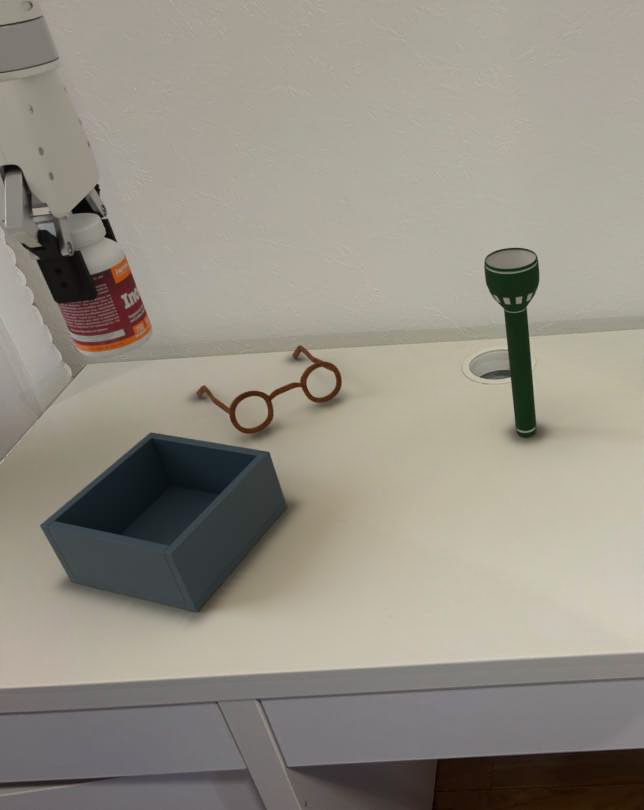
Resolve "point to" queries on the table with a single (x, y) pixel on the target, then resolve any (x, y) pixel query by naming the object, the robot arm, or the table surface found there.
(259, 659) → the table surface
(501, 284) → the flashlight
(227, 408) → the glasses
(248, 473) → the bin
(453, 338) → the table surface
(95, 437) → the table surface
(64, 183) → the robot arm
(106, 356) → the pill bottle
